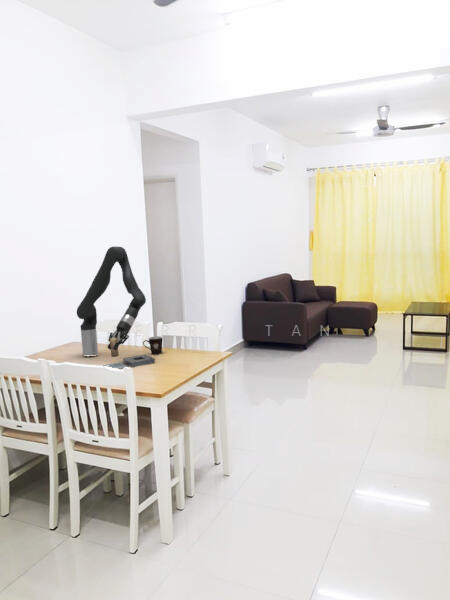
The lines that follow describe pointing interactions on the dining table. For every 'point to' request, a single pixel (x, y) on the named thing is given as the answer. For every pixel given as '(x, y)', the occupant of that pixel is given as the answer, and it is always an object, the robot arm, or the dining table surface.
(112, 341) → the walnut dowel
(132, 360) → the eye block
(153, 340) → the coffee mug
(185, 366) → the dining table surface
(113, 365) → the slate pad
